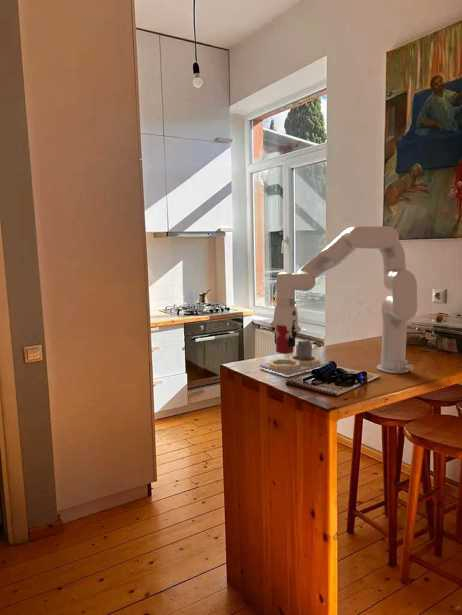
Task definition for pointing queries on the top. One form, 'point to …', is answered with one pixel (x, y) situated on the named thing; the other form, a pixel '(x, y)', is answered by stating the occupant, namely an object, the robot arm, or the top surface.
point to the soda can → (283, 340)
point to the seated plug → (304, 351)
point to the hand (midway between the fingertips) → (284, 344)
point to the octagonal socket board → (292, 365)
